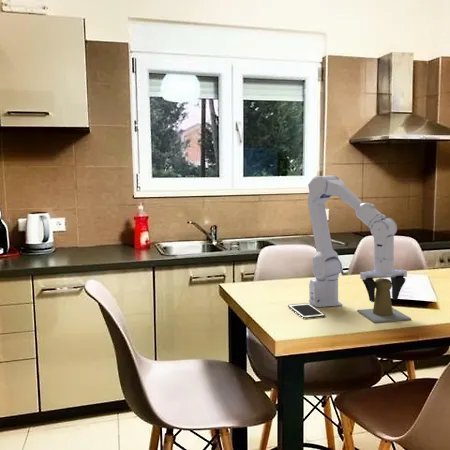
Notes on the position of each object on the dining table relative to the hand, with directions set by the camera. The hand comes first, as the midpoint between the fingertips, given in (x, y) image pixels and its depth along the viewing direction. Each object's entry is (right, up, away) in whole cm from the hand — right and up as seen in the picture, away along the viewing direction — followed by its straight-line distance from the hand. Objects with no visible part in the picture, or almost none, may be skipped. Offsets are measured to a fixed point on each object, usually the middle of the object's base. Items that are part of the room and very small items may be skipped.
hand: (383, 300), depth 149 cm
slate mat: (0, -5, +1) cm, 5 cm away
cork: (0, -4, +2) cm, 5 cm away
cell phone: (-23, -5, +7) cm, 25 cm away
